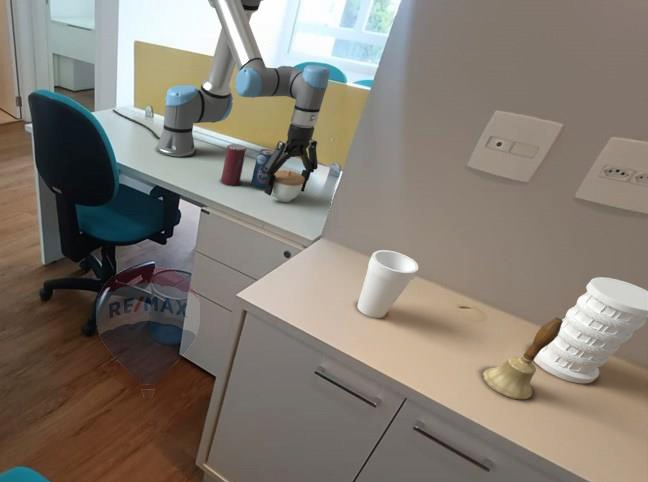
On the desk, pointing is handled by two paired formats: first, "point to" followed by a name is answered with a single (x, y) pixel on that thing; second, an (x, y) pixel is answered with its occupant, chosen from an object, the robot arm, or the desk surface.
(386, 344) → the desk surface
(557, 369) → the decorative container
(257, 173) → the soda can
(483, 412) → the desk surface
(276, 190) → the trinket box
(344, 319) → the desk surface
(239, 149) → the aluminium can
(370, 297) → the foam cup
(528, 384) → the hand bell
